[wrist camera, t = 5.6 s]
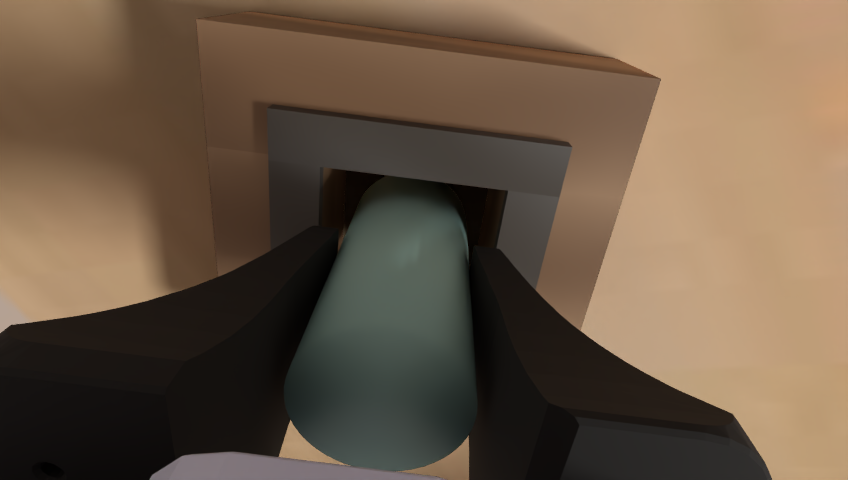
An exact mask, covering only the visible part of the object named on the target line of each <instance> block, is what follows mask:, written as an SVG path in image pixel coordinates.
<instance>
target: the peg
mask: <svg viewBox="0 0 848 480" xmlns="http://www.w3.org/2000/svg"><path fill="white" fill-rule="evenodd" d="M284 401H285V406H286V409H287V412H288V415H289V417H290V419H291V421H292V423H293V425H294V426H295V428H296V429H297V430H298V432H299V433H300V434H301V435H302V436H303V437H304V438H305V439H306V440H307V441H308V442H309V443H310V444H311V445H312V446H314V447H315V448H316V449H318V450H319V451H321V452H322V453H324V454H325V455H327V456H329V457H331V458H333V459H335V460H337V461H340V462H342V463H345V464H348V465H351V466H355V467H364V468H372V469H380V470H388V471H404V470H410V469H415V468H419V467H423V466H426V465H429V464H432V463H434V462H436V461H438V460H440V459H442V458H444V457H446V456H447V455H449V454H450V453H452V452H453V451H454V450H455V449H457V448H458V447H459V446H460V445H461V444H462V443H463V442H464V440H465V439H466V438H467V437H468V435H469V433H470V432H471V430H472V428H473V425H474V423H475V420H476V415H477V406H478V400H477V384H476V368H475V352H474V336H473V320H472V304H471V288H470V272H469V256H468V240H467V224H466V215H465V211H464V208H463V205H462V203H461V201H460V199H459V198H458V196H457V195H456V193H455V192H454V191H453V190H452V189H451V188H450V187H449V186H448V185H447V184H445V183H444V182H436V181H428V180H420V179H412V178H404V177H396V176H389V175H388V176H385V177H383V178H381V179H380V180H378V181H376V182H375V183H374V184H372V185H371V186H370V187H369V188H368V189H367V190H366V192H365V193H364V195H363V196H362V198H361V200H360V202H359V204H358V206H357V209H356V211H355V213H354V216H353V218H352V221H351V223H350V225H349V228H348V230H347V232H346V235H345V237H344V240H343V242H342V244H341V247H340V249H339V251H338V254H337V256H336V259H335V261H334V263H333V266H332V268H331V270H330V273H329V275H328V278H327V280H326V282H325V285H324V287H323V289H322V292H321V294H320V297H319V299H318V301H317V304H316V306H315V308H314V311H313V313H312V316H311V318H310V320H309V323H308V325H307V327H306V330H305V332H304V335H303V337H302V339H301V342H300V344H299V346H298V349H297V351H296V354H295V356H294V358H293V361H292V363H291V365H290V368H289V370H288V373H287V376H286V379H285V384H284Z"/></svg>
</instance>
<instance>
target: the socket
mask: <svg viewBox="0 0 848 480" xmlns="http://www.w3.org/2000/svg"><path fill="white" fill-rule="evenodd" d="M196 25H197V37H198V49H199V61H200V73H201V84H202V96H203V108H204V120H205V132H206V144H207V156H208V168H209V179H210V191H211V203H212V215H213V227H214V239H215V251H216V263H217V274H218V277H219V276H221V275H224V274H226V273H228V272H230V271H232V270H235V269H236V268H238V267H240V266H242V265H244V264H246V263H248V262H250V261H252V260H254V259H256V258H258V257H260V256H262V255H264V254H265V253H267V252H269V251H271V250H272V249H274V248H276V247H277V246H279V245H281V244H282V243H284V242H286V241H287V240H289V239H291V238H292V237H294V236H296V235H297V234H299V233H301V232H302V231H304V230H306V229H307V228H309V227H311V226H313V225H314V226H322V227H330V228H338V229H339V236H338V251H339V249H340V247H341V244H342V242H343V229H344V208H345V187H346V170H349V171H357V172H365V173H373V174H381V175H389V176H396V177H404V178H412V179H420V180H428V181H436V182H444V183H451V184H459V185H467V186H475V187H483V188H488V193H487V198H486V203H485V209H484V214H483V220H482V225H481V230H480V236H479V241H478V246H481V247H489V248H497V249H500V250H501V251H502V252H503V253H504V254H505V256H506V257H507V258H508V259H509V260H510V262H511V263H512V264H513V265H514V266H515V268H516V269H517V270H518V271H519V272H520V274H521V275H522V276H523V277H524V278H525V279H526V280H527V281H528V283H529V284H530V285H531V286H532V287H533V288H534V289H535V290H536V291H537V292H538V293H539V294H540V295H541V296H542V297H543V298H544V299H545V300H546V301H547V302H548V303H549V304H550V305H551V306H552V307H553V308H554V309H555V310H556V311H557V312H558V313H559V314H560V315H562V316H563V317H564V318H565V319H566V320H567V321H569V322H570V323H571V324H572V325H573V326H575V327H576V328H577V329H579V330H581V327H582V324H583V321H584V318H585V315H586V312H587V308H588V305H589V302H590V299H591V296H592V293H593V290H594V287H595V284H596V280H597V277H598V274H599V271H600V268H601V265H602V262H603V259H604V255H605V252H606V249H607V246H608V243H609V240H610V237H611V234H612V231H613V227H614V224H615V221H616V218H617V215H618V212H619V209H620V206H621V202H622V199H623V196H624V193H625V190H626V187H627V184H628V181H629V178H630V174H631V171H632V168H633V165H634V162H635V159H636V156H637V153H638V149H639V146H640V143H641V140H642V137H643V134H644V131H645V128H646V125H647V121H648V118H649V115H650V112H651V109H652V106H653V103H654V100H655V96H656V93H657V90H658V87H659V84H660V81H661V79H660V78H658V77H655V76H653V75H651V74H649V73H647V72H644V71H642V70H640V69H638V68H636V67H633V66H631V65H629V64H627V63H625V62H622V61H620V60H618V59H612V58H604V57H597V56H589V55H581V54H574V53H566V52H558V51H550V50H543V49H535V48H527V47H520V46H512V45H504V44H496V43H489V42H481V41H473V40H466V39H458V38H450V37H442V36H435V35H427V34H419V33H412V32H404V31H396V30H388V29H381V28H373V27H365V26H358V25H350V24H342V23H334V22H327V21H319V20H311V19H304V18H296V17H288V16H280V15H273V14H265V13H257V12H243V13H236V14H228V15H221V16H214V17H207V18H199V19H196Z"/></svg>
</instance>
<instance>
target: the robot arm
mask: <svg viewBox="0 0 848 480" xmlns="http://www.w3.org/2000/svg"><path fill="white" fill-rule="evenodd" d="M338 236H339V229H338V228H330V227H322V226H314V225H313V226H311V227H309V228H307V229H306V230H304V231H302V232H301V233H299V234H297V235H296V236H294V237H292V238H291V239H289V240H287V241H286V242H284V243H282V244H281V245H279V246H277V247H276V248H274V249H272V250H271V251H269V252H267V253H265V254H264V255H262V256H260V257H258V258H256V259H254V260H252V261H250V262H248V263H246V264H244V265H242V266H240V267H238V268H236V269H235V270H232V271H230V272H228V273H226V274H224V275H221V276H219V277H217V278H214V279H212V280H209V281H207V282H204V283H202V284H199V285H196V286H194V287H191V288H188V289H185V290H182V291H178V292H175V293H172V294H169V295H165V296H162V297H159V298H155V299H152V300H149V301H145V302H141V303H137V304H133V305H129V306H125V307H121V308H116V309H111V310H106V311H101V312H97V313H91V314H86V315H80V316H74V317H67V318H60V319H53V320H46V321H39V322H32V323H25V324H16V325H11V326H9V327H8V328H7V329H5V330H4V331H3V332H1V333H0V480H446V479H443V478H440V477H437V476H429V475H421V474H413V473H405V472H396V471H388V470H380V469H372V468H364V467H355V466H347V465H339V464H331V463H323V462H314V461H306V460H298V459H290V458H282V457H279V453H280V450H281V447H282V444H283V440H284V437H285V434H286V431H287V428H288V425H289V422H290V417H289V415H288V412H287V409H286V406H285V401H284V384H285V379H286V376H287V373H288V370H289V368H290V365H291V363H292V361H293V358H294V356H295V354H296V351H297V349H298V346H299V344H300V342H301V339H302V337H303V335H304V332H305V330H306V327H307V325H308V323H309V320H310V318H311V316H312V313H313V311H314V308H315V306H316V304H317V301H318V299H319V297H320V294H321V292H322V289H323V287H324V285H325V282H326V280H327V278H328V275H329V273H330V270H331V268H332V266H333V263H334V261H335V259H336V256H337V254H338ZM469 272H470V288H471V304H472V320H473V336H474V352H475V368H476V384H477V400H478V406H477V415H476V420H475V423H474V425H473V428H472V430H471V432H470V433H469V480H772V478H771V476H770V473H769V471H768V469H767V466H766V464H765V462H764V460H763V459H762V457H761V456H760V454H759V453H758V451H757V450H756V448H755V447H754V445H753V444H752V442H751V441H750V439H749V438H748V436H747V434H746V433H745V431H744V430H743V428H742V427H741V425H740V424H739V422H738V421H737V419H736V418H735V417H734V415H733V414H731V413H729V412H727V411H725V410H722V409H720V408H718V407H715V406H713V405H711V404H709V403H706V402H704V401H702V400H699V399H697V398H695V397H692V396H690V395H688V394H686V393H683V392H681V391H679V390H677V389H675V388H673V387H671V386H669V385H667V384H665V383H663V382H661V381H659V380H657V379H655V378H653V377H651V376H650V375H648V374H646V373H644V372H642V371H640V370H639V369H637V368H635V367H633V366H632V365H630V364H628V363H627V362H625V361H623V360H622V359H620V358H619V357H617V356H616V355H614V354H612V353H611V352H609V351H608V350H606V349H605V348H603V347H602V346H600V345H599V344H597V343H596V342H594V341H593V340H592V339H590V338H589V337H588V336H586V335H585V334H584V333H582V332H581V331H580V330H579V329H577V328H576V327H575V326H573V325H572V324H571V323H570V322H569V321H567V320H566V319H565V318H564V317H563V316H562V315H560V314H559V313H558V312H557V311H556V310H555V309H554V308H553V307H552V306H551V305H550V304H549V303H548V302H547V301H546V300H545V299H544V298H543V297H542V296H541V295H540V294H539V293H538V292H537V291H536V290H535V289H534V288H533V287H532V286H531V285H530V284H529V283H528V281H527V280H526V279H525V278H524V277H523V276H522V275H521V274H520V272H519V271H518V270H517V269H516V268H515V266H514V265H513V264H512V263H511V262H510V260H509V259H508V258H507V257H506V256H505V254H504V253H503V252H502V251H501V250H500V249H497V248H489V247H481V246H474V249H473V254H472V260H471V265H470V271H469Z"/></svg>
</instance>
